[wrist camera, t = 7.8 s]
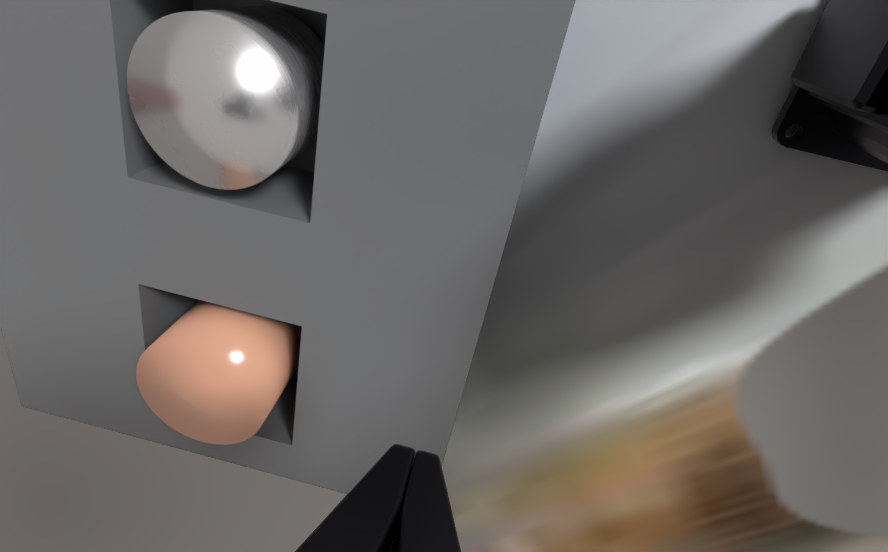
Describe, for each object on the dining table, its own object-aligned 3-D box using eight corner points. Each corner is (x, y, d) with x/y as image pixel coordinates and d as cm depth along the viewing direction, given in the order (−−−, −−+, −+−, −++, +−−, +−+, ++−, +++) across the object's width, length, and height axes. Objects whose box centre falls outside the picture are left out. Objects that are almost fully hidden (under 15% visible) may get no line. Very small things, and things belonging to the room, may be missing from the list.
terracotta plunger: (311, 298, 21) (267, 359, 18) (303, 388, 24) (263, 458, 20) (195, 268, 22) (129, 323, 18) (199, 361, 24) (141, 425, 20)
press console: (570, -20, 17) (581, -21, 13) (445, 429, 27) (427, 515, 23) (31, -144, 18) (-134, -185, 13) (103, 339, 28) (21, 405, 23)
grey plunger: (345, 24, 17) (296, 35, 14) (331, 166, 20) (286, 206, 16) (202, -10, 17) (118, -8, 14) (205, 135, 20) (134, 168, 16)
